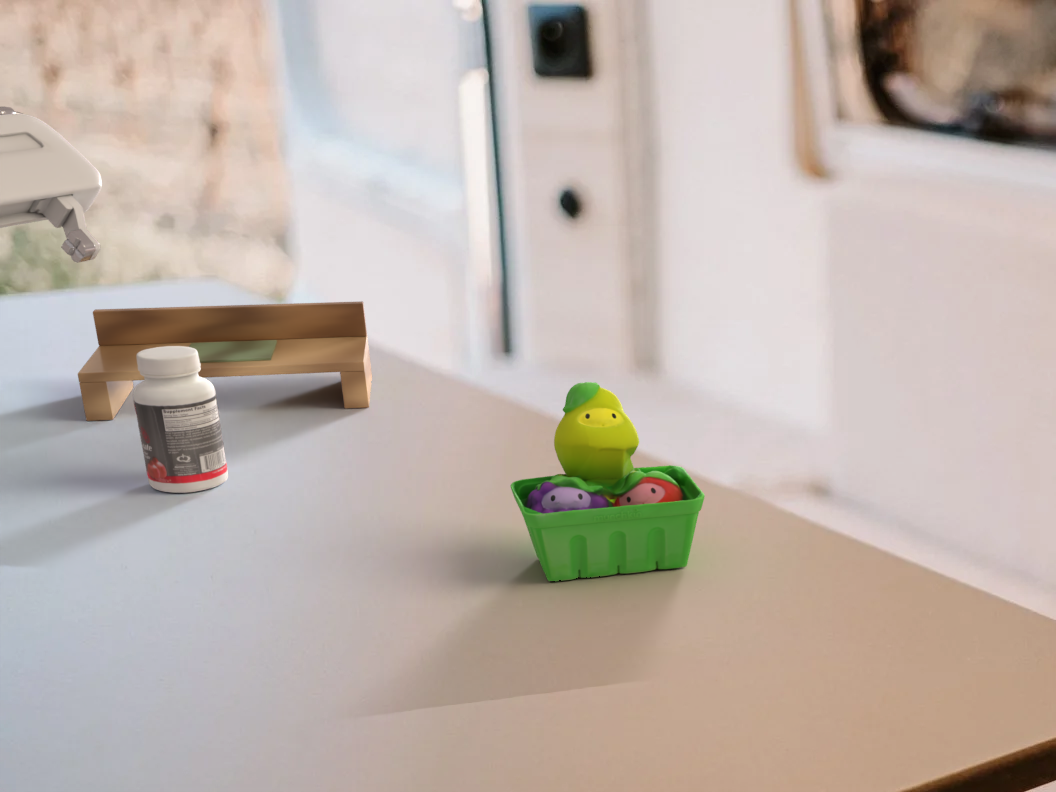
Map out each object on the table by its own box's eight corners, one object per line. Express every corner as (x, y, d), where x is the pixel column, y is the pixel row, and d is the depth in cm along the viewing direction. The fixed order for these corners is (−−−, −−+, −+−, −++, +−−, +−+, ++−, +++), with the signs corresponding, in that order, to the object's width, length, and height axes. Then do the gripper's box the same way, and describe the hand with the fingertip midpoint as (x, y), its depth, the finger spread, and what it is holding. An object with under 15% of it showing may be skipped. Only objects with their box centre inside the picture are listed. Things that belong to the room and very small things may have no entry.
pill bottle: (139, 480, 118) (116, 349, 115) (215, 468, 122) (195, 340, 118) (161, 499, 115) (137, 364, 111) (239, 486, 118) (219, 354, 114)
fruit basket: (530, 592, 100) (516, 415, 96) (512, 546, 108) (497, 380, 103) (710, 573, 104) (704, 402, 100) (680, 530, 112) (673, 370, 107)
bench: (86, 421, 132) (70, 336, 130) (108, 388, 142) (94, 309, 139) (369, 407, 139) (359, 326, 136) (372, 377, 148) (363, 301, 146)
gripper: (6, 134, 125) (130, 270, 126) (-250, 165, 107) (-103, 323, 108) (39, 76, 122) (165, 216, 123) (-220, 97, 104) (-69, 260, 105)
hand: (38, 266), depth 116 cm, fingers open, 8 cm apart
